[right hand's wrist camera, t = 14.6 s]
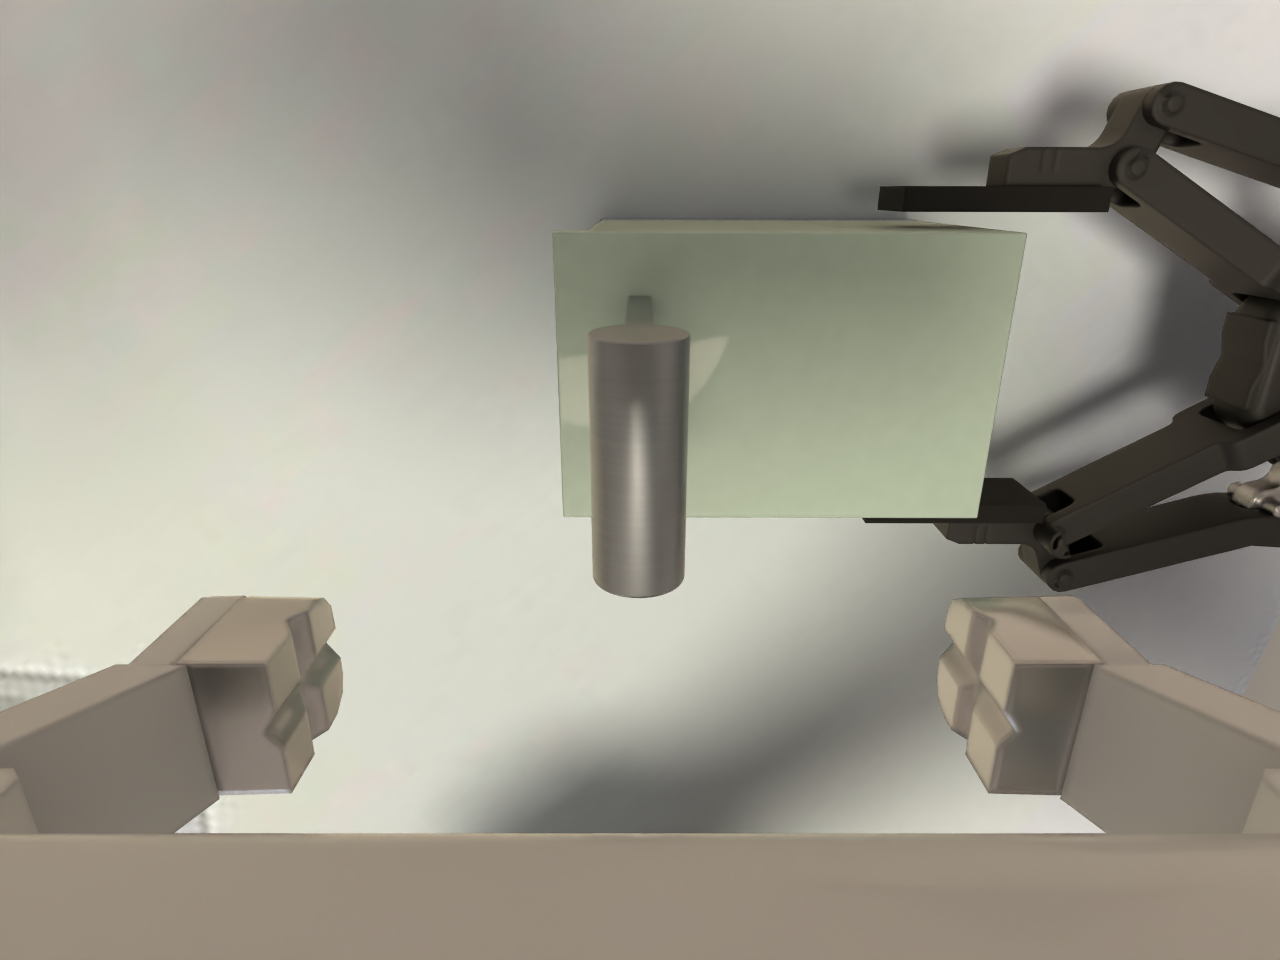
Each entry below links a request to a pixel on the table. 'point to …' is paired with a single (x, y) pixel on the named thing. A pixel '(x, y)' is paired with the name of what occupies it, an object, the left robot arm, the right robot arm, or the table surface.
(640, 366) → the box cover with handle
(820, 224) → the chest
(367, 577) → the table surface
